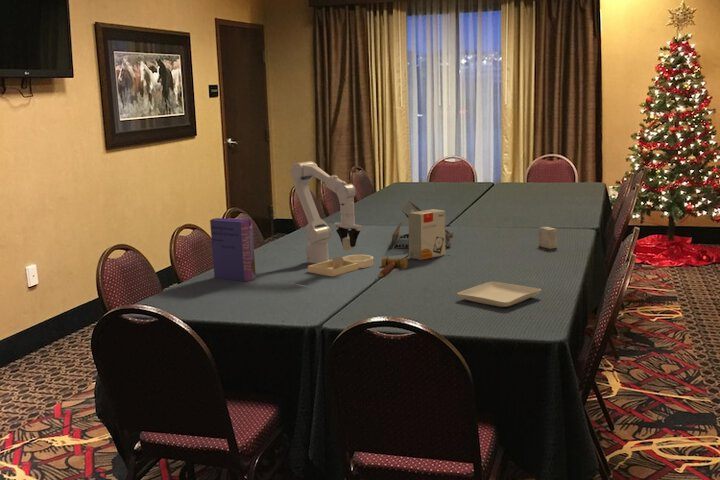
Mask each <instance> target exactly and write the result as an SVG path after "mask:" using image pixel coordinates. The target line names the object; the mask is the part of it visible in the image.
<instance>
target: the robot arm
mask: <svg viewBox="0 0 720 480" xmlns="http://www.w3.org/2000/svg"><path fill="white" fill-rule="evenodd" d="M289 172H290V175H291V177H292V180H293V186H294V190H295V192H296V193H297V197H298V200H299V202H300V204H301V207H302V210H303V212H304V215H305V217H306V220H307V224H306V227H305V231H306V238H307V240H308V241H309V242H307V245H306V247H305V249H306V251H305V253H306V260H305V263H306V264H307V263H311V264H317V263H321V262H325V261H329V260H330V259H329V258H330V257H329V242H330V239H331V237H332V230H331V228H330V227H329V226H328V224H327V222H326V221H325V220H323V219H322V218H321V217H320V214H319V212H318V209H317V206H316V203H315V201H314V198H313V196H312V193H311V190H310V187H309V186H308V185H309V183H310V182H311V180H312V178H313V177H314V178H316V179H318V180H320V181H321V182H323V183H325V187H326V188H327V189H329V190H330V191H332V192H333V193H335V194H336V196H337V198H338V202H339V209H340V210H339V211H340V222H338V221H337V222H334V223H333V227H334V229H335V228H336V230H335V231H336V233H337V234H338V237H339V240H340V242H341V245H342V247H343V242H342V238H344V237H349V238H350V246H351V247H354V248H355V247H356V244H357V240H358V237H359V234H360V232H361V231H363V225H360V224H356V223H355V222H356V220H355V219H356V218H355V199H354V198H355V197H356V195H357V189H356V186H355V185H354V184H353V183H347V182H346V181H345V180H342V179H340V178H339V176H338V175H329V173H327V172H325V171H324V170H323V169H321V168H320V167H318V164H317V163H316V162H314V161H312V160H308V161H301V162H295V163H293V164H292V165H291V169H290V171H289ZM337 228H338V229H337Z"/></svg>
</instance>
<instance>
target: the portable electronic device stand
mask: <svg viewBox="0 0 720 480" xmlns="http://www.w3.org/2000/svg"><path fill="white" fill-rule="evenodd" d="M418 211H423V210H422V209H420V208H419V207H418V206H417V205H415V204H414V203H413V202H412V201H410V200H408V201H407V202H406V204H405V206H404V207H403V208H402V213H403V214H405V217H407V219H409V213H411V212H418ZM402 225H403V222H402V221H399V223H398V225H397V227H396V229H395V230H394V231H393V233H392V235H391V236H392V238H391V249H393V248H394V250H409V245H408V244H399V243H400V240H401V239H406V238H407V239H409V233H406V234H400V232H401V227H402ZM453 234H454V232H452V233H451V232H449V231H448V230H447V229H446V228H445V250H446V249H448V248H449V247H450V246H451V245H452V243H451V238H452V236H453ZM446 237H447V238H446Z"/></svg>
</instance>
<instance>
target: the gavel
mask: <svg viewBox="0 0 720 480" xmlns="http://www.w3.org/2000/svg"><path fill="white" fill-rule="evenodd" d="M382 267H383V269H382V270H381V271H380V272H379V274H378V275H379V278H383V277H386V276H387V275H388V274H390V272H391V271H392V270H394V268H400V269H403V270H405V269H407V268H408V259H407V257H401V258H398V257H397V258H395V257H394V258H393V257H389V256H388V257H387V256H383V257H382V258H381V268H382Z"/></svg>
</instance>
